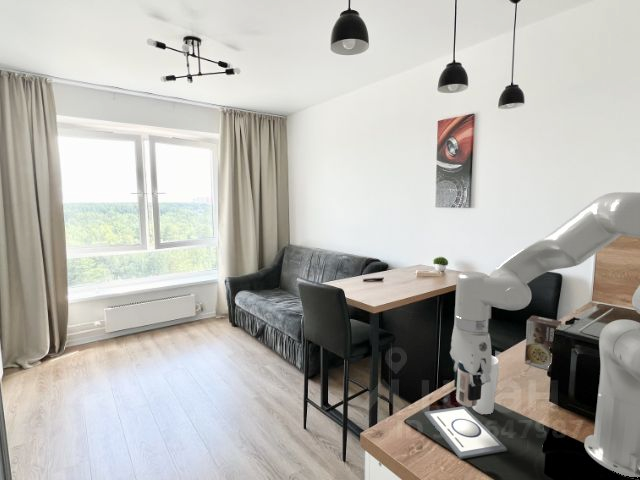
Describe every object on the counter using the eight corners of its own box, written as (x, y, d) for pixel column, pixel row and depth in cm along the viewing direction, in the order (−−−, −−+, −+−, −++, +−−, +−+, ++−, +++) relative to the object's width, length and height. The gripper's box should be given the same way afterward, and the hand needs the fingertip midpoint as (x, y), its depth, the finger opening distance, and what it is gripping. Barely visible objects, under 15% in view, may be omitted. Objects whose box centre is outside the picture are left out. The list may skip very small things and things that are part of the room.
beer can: (479, 409, 83) (482, 362, 82) (458, 407, 84) (461, 361, 82) (473, 397, 88) (476, 353, 86) (454, 396, 89) (456, 352, 87)
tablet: (506, 450, 80) (506, 447, 80) (460, 459, 78) (460, 456, 77) (463, 408, 96) (464, 405, 96) (424, 414, 94) (424, 411, 93)
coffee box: (559, 365, 119) (562, 321, 116) (554, 372, 114) (558, 326, 112) (529, 357, 125) (532, 314, 123) (523, 363, 121) (526, 319, 119)
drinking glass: (499, 419, 91) (502, 365, 89) (472, 416, 92) (474, 363, 90) (492, 403, 98) (495, 354, 96) (466, 401, 99) (469, 352, 97)
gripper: (510, 335, 76) (504, 412, 78) (463, 310, 92) (460, 374, 95) (480, 338, 74) (475, 416, 77) (438, 312, 91) (435, 377, 93)
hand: (467, 392), depth 86 cm, fingers closed on beer can, 4 cm apart
